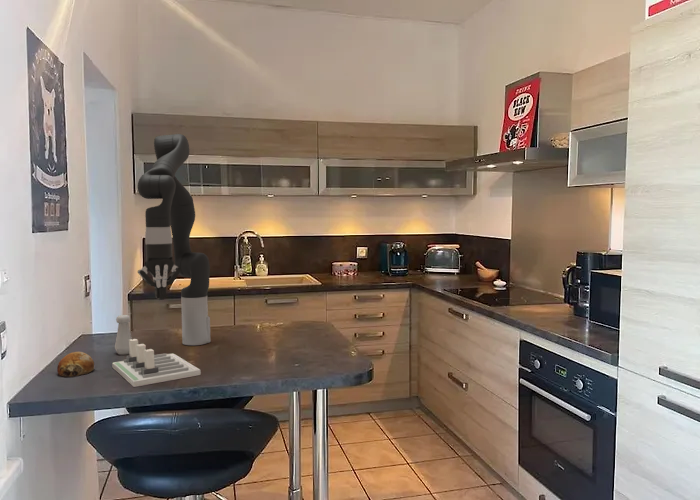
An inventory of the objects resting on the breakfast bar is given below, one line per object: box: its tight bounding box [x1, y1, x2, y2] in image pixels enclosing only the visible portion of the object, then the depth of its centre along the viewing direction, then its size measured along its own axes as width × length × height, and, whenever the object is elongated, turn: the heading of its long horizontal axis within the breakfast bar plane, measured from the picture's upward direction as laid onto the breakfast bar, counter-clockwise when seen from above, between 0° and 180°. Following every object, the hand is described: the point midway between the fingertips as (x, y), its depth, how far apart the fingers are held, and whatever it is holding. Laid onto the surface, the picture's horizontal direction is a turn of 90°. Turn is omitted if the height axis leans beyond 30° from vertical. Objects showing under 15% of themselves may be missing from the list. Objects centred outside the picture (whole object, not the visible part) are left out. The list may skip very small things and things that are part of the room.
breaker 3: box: [141, 348, 158, 376], centre depth 160 cm, size 4×3×7 cm
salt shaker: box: [114, 314, 133, 356], centre depth 190 cm, size 6×6×13 cm
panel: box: [112, 353, 202, 388], centre depth 169 cm, size 19×24×2 cm
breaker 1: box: [125, 338, 139, 363], centre depth 173 cm, size 4×3×7 cm
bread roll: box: [56, 351, 95, 378], centre depth 168 cm, size 10×10×8 cm
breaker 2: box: [133, 343, 147, 369], centre depth 166 cm, size 4×3×7 cm
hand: (160, 299), depth 169 cm, fingers closed
